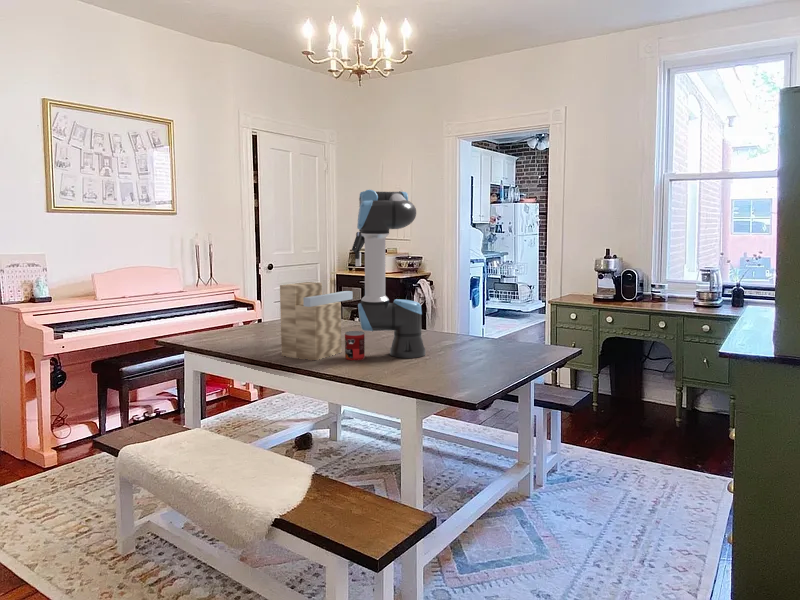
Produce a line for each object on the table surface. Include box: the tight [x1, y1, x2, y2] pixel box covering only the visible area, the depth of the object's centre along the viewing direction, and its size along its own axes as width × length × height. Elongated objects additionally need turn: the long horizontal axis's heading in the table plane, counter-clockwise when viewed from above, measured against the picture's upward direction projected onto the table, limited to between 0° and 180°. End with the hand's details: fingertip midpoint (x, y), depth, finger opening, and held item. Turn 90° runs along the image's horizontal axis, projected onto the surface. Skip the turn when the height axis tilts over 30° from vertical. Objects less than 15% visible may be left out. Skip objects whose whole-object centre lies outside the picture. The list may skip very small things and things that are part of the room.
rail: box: [303, 290, 354, 307], centre depth 255 cm, size 30×4×4 cm, turn 150°
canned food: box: [344, 330, 366, 361], centre depth 246 cm, size 8×8×11 cm
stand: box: [279, 281, 343, 361], centre depth 253 cm, size 18×18×30 cm
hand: (366, 267), depth 289 cm, fingers open, 13 cm apart
